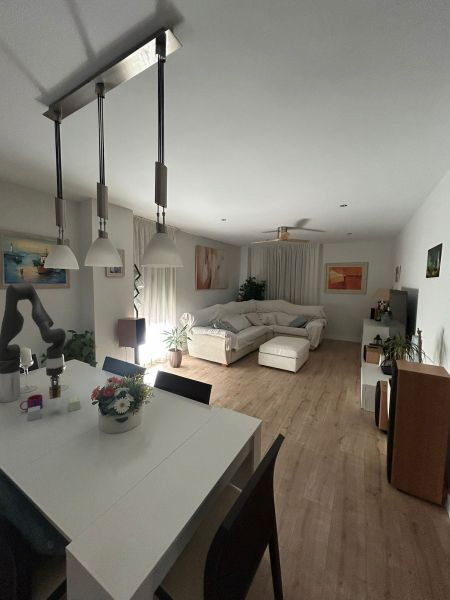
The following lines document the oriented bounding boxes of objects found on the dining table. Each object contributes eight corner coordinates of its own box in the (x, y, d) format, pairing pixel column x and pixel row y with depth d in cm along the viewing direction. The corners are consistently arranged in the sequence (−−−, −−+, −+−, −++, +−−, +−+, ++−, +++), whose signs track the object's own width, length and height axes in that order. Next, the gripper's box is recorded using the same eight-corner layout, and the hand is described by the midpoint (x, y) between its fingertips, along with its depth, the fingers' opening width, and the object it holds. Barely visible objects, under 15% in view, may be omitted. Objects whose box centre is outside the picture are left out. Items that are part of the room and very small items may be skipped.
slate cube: (28, 417, 127) (28, 408, 127) (40, 414, 130) (40, 405, 130) (27, 421, 123) (27, 412, 123) (40, 418, 126) (40, 409, 126)
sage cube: (68, 407, 138) (68, 399, 137) (78, 405, 141) (78, 397, 140) (69, 411, 134) (69, 403, 133) (79, 409, 137) (79, 400, 136)
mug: (43, 408, 136) (43, 397, 135) (21, 415, 128) (20, 403, 128) (40, 404, 140) (40, 393, 140) (18, 411, 133) (18, 399, 132)
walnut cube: (49, 395, 132) (49, 387, 132) (60, 393, 135) (60, 385, 135) (49, 399, 128) (49, 390, 128) (60, 397, 131) (60, 388, 131)
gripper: (46, 362, 134) (46, 392, 135) (46, 370, 122) (46, 402, 123) (62, 360, 138) (62, 388, 139) (63, 368, 127) (63, 398, 128)
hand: (54, 395), depth 131 cm, fingers closed on walnut cube, 5 cm apart
